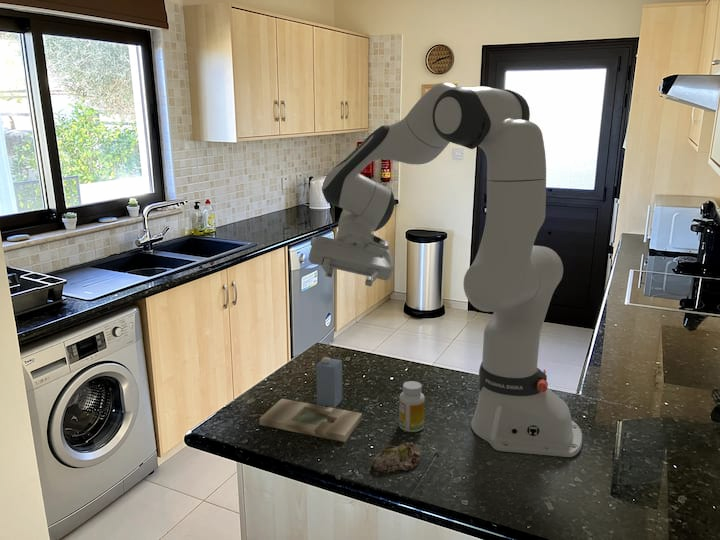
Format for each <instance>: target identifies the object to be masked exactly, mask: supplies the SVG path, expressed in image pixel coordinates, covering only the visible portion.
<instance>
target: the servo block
mask: <svg viewBox="0 0 720 540" xmlns="http://www.w3.org/2000/svg"><path fill="white" fill-rule="evenodd" d="M315 367H316V368H315V369H316V370H315V371H316V373H315V374H316V375H315V376H316V380H315V381H316V405H320V406H325V407H326V406H327V407H331V408H337V406H339V404H341V402H342V401H343V360H342V359H335V358H331V357H328V356H324V357H322V358H321V360H320V361H319V362H318V363H316V365H315Z"/></svg>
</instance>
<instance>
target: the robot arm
mask: <svg viewBox="0 0 720 540" xmlns="http://www.w3.org/2000/svg"><path fill="white" fill-rule="evenodd" d="M530 114H531V111H530V106H529V103H528V102H527V100H526V99H525V98H524V96H522V95H521V94H520V93H518V92H516V91H513V90H510V89H503V88H502V89H500V88H494V87H489V86H482V85H481V86H480V85H479V86H469V87H467V86H458V85H455V84H453V83H451V82H439V83H437V84H435V85H433V86H432V87H431V88H430V89H428V90H427V91H426V92H425V94H423V95H422V96H421V97H420V99H418V101H417V102H416V103H415V104H414V105H413V107H412V108H411V109H410V110H409V111H408V113H407V115H405V117H404V118H402V119H401V120H399V121H397V122H395V123H392V124H390V125H381V126H380V127H378V128H376V129H375V130H374V131H373V132H372V133H370V134H369V135H368V136H367V137H366V138H365V139H364V140H363V141H362V142H361V143H360V144H359V145H358V146H357V147H355V149H354V150H352V152H351V153H349V155H348V156H347V157H346V158H345V159H343V160H342V161H341V162H340V163H338V164H337V165H335V166H334V167H333V168H332V169H331V170H329V172H328V173H327V174H326V175H325V177H324V180H323V183H322V186H321V192H322V195H323V197H324V199H325V201H326V204H330V205H332V206H334V207H337V208H341V209H342V210H341V213H340V215H339V216H340V217H339V219H338V224H337V229H338V230H337V232H336V237H335V238H331V237H327V236H322V235H317V236H313V237H312V238H311V239H310V246H311V247H310V251H309V254H308V261H309V263H310V264H313V265H318V266H321V268H322V269H323V270H324V272H325V275H324V276H325V277H329V278H333V274H334V269H335V270H338V271H339V270H340V271H343V272H347V273H352V274H356V275H360V276H365V277H366V279H365V282H364V283H365V285H364V286H367V287H372V285H373V283H374V282H375V281H376V280H377V279H378V280H382V281H388V280H390V279H391V277H392V274H393V272H394V257H393V254H392V252H391V251H390V242H388V241H387V240H385V239H383V238H380V237H378V236H377V235H375V234H373V232H377V231H379V230H381V229H382V228H383V227H385V226H386V225H387V223H388V222H389V221H390V219H391V217H392V215H393V214H394V213H393V212H394V209H395V205H396V203H395V202H396V201H395V196H394V193H393V191H392V189H390V188H388V187H387V186H385V185H383V184H381V183H379V182H377V181H374V180H372V179H371V178H369V177H366V176H365V175H364V174H361V172H362V171H363V170H364V169H365V168H367V166H368V165H370V164H371V163H372V162H373V161H379V160H385V161H394V162H398V163H399V162H400V163H403V164H404V163H405V164H408V165H424V164H428V163H430V162H432V161H433V160H435V159H436V158H437V157H438V156H439V155H440V154H441V153H442V152H443V151H444V150H445V148H447V146H448V145H449V144H450V143H452V144H455V145H458V146H462V147H464V148H467V149H469V150H474V149H475V148H478V147H479V148H480V149H481V150H482V151H483V153H484V154H485V156H486V165H487V166H486V167H487V168H486V169H487V170H486V214H485V223H484V224H485V225H484V228H483V233H482V237H481V240H480V243H479V247H478V250H477V253H476V255H475V258H474V260H473V262H472V263H471V265H470V266H469V268H468V269H467V271H466V272H465V275H464V277H463V291H464V293H465V297H466V299H467V301H468V302H469V303H470V304H471V305H472V306H473V307H474V308H475V309H476V310H479V311H481V312H486V313H490V312H491V313H492V312H493V313H492V316H491V318H490V319H489V320H488V322H487V323H486V325H485V328H484V331H483V343H482V344H483V345H482V361H481V363H480V365H479V370H478V391H479V393H478V399H477V402H476V403H477V404H476V408H475V412H474V415H473V418H472V420H471V422H470V426H471V429H472V431H473V432H474V433H475V434H476V435H477V436H478V437H479V438H481V439H483V441H486V442H487V443H489V445H490V446H491V447H492V448H493V449H494V450H496V451H498V452H507V453H517V454H518V453H519V454H528V455H541V456H551V457H564V458H573V457H575V456H576V455H577V454H578V453H579V452H580V451H581V449H582V446H583V434H582V430H581V428H580V426H579V425H578V424H577V423H576V422H575V421H573V420H572V415H571V411H570V408H569V405H568V404H567V403H566V401H565V400H564V399H562V398H560V396H558V395H557V394H555V393H554V392H553V391H552V390H550V388H548V385H549V383H548V381H547V378H548V376H547V372H546V369H543V371H542V370H541V369H540V368H539V367H538V360H539V359H538V358H539V348H540V340H541V339H540V338H541V334H542V329H543V325H544V321H545V319H546V316H547V314H548V313H547V312H548V309H549V306H550V303H551V300H552V297H553V294H554V293H555V290H556V289H557V287H558V285H559V284H560V282H561V281H562V279H563V274H564V265H563V262H562V259H561V257H560V256H559V255H558V253H557V252H556V251H555V250H553V249H552V248H550V247H547V246H543V245H534V244H535V241H536V238H537V236H538V233H539V231H540V229H541V227H542V226H543V224H544V222H545V219H546V207H547V206H546V205H547V204H546V203H547V201H546V200H547V159H546V158H547V157H546V150H545V149H546V148H545V141H544V136H543V131H542V129H541V128H540V127H539V126H538V125H537V124H536V123H535V122H532V121H530V118H531V116H530Z"/></svg>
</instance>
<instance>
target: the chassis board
mask: <svg viewBox="0 0 720 540" xmlns="http://www.w3.org/2000/svg"><path fill="white" fill-rule="evenodd" d="M258 419H259V425H260V426H264V427H269V428H274V429H279V430H284V431H289V432H292V433H297V434H298V433H299V434H304V435H308V436H314V437H317V438H322V439H327V440H332V441H337V442H341V443H346V442H347V440H348V439H349V438H350V436H351V435H352V434H353V432H354V431H355V429H357V427H358V426H359V424H360V423H361V422H362V421H363V413H362V412H358V411H351V410H346V409H341V408H337V407H335V408H332V407H326V406H321V405H317V404H315V403H314V404H313V403H309V402H304V401H303V402H302V401H297V400H292V399H287V398H281V399H279V400H278V401H277V402H276V403H275V404H274V405H272V406H271V407H270V408H269V409H268V410H267V411H266V412H265V413H264V414H262V416H261V417H259V418H258Z"/></svg>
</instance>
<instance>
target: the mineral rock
mask: <svg viewBox="0 0 720 540" xmlns="http://www.w3.org/2000/svg"><path fill="white" fill-rule="evenodd" d="M421 454H422V447H421V446H420V445H418V443H417V444H415V443H413V441H412V442H408V441H406V442H402V443H400V444H399V445H396V444H393V445H389V446H387V447H384V448H383V450H382V451H379V452H378V453H377V455H376V456H374V457H373V458H372V461H371V466H372V467H373V470H374V471H375V472H381V473H391V472H395V471H400V470H402V471H404V472H405V471H409V470H413V469H414V468H415V467H416V466H418V465H419V463H420V456H421Z"/></svg>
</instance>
